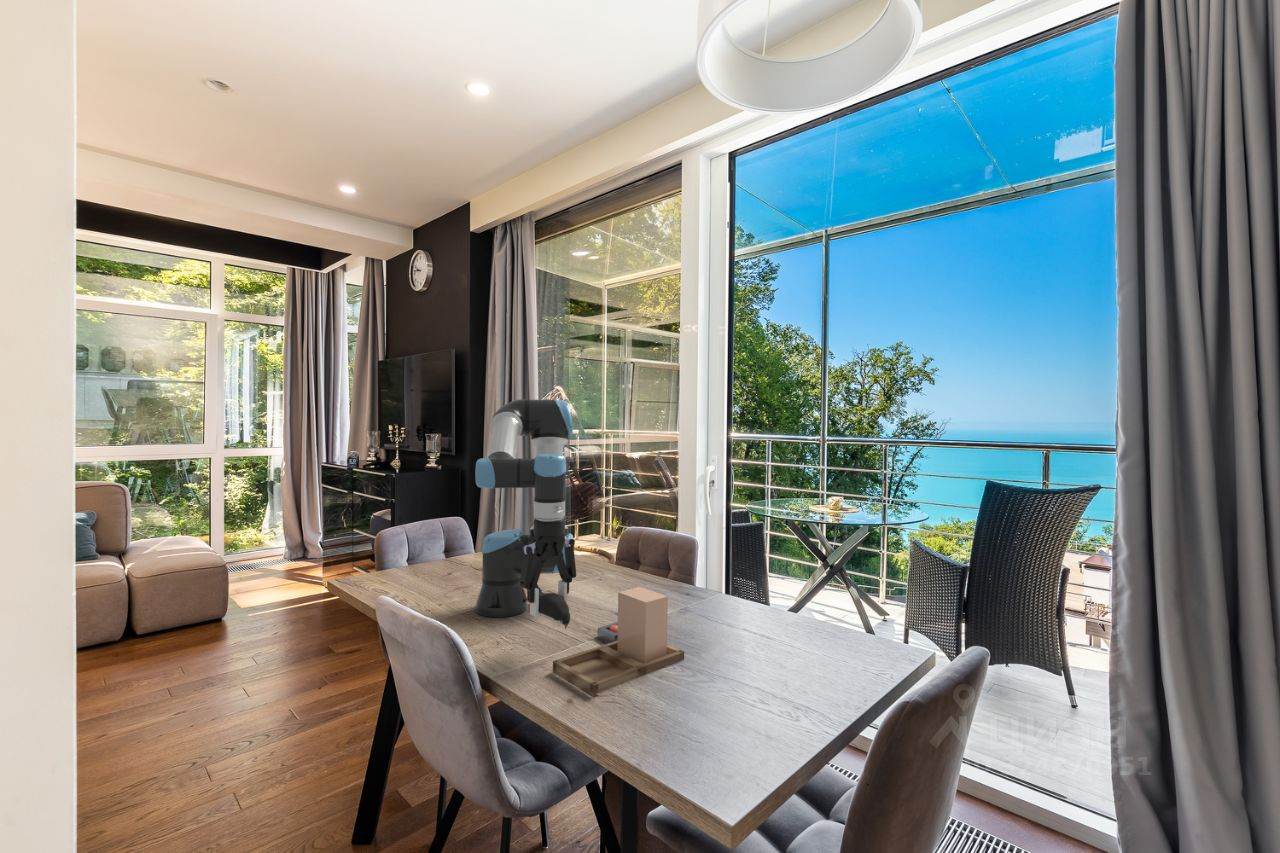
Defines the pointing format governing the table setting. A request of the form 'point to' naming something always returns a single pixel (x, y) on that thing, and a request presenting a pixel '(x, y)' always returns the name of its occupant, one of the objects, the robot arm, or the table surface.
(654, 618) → the tan block
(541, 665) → the table surface
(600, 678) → the wooden divided tray
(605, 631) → the button collar
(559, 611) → the figurine
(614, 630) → the stop button
